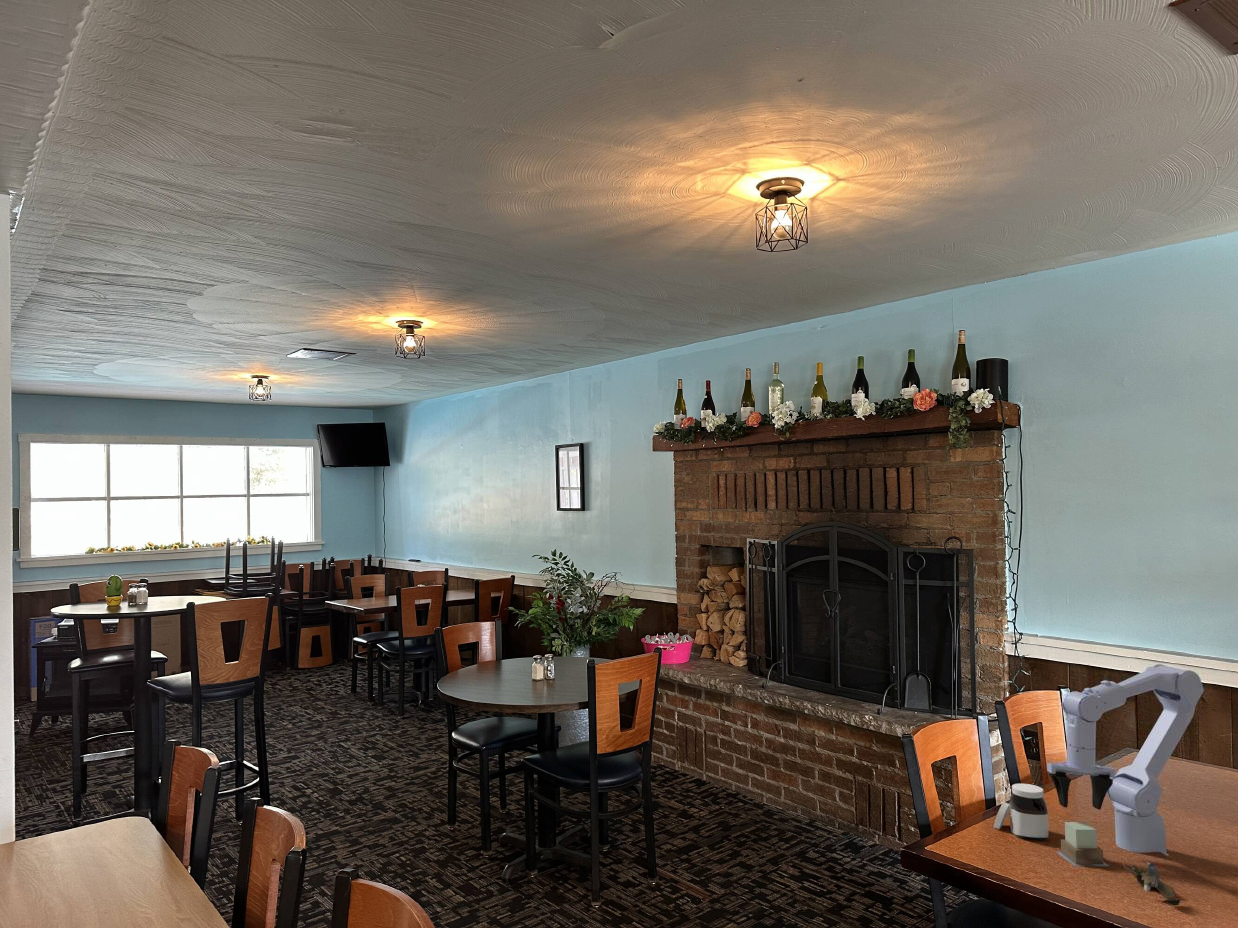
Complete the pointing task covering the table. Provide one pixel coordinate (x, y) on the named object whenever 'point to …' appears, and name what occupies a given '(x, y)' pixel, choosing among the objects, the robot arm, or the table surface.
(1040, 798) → the spread jar
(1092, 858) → the walnut block
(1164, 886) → the eagle figurine
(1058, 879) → the table surface
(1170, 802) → the table surface
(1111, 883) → the table surface
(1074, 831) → the green block
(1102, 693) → the robot arm
